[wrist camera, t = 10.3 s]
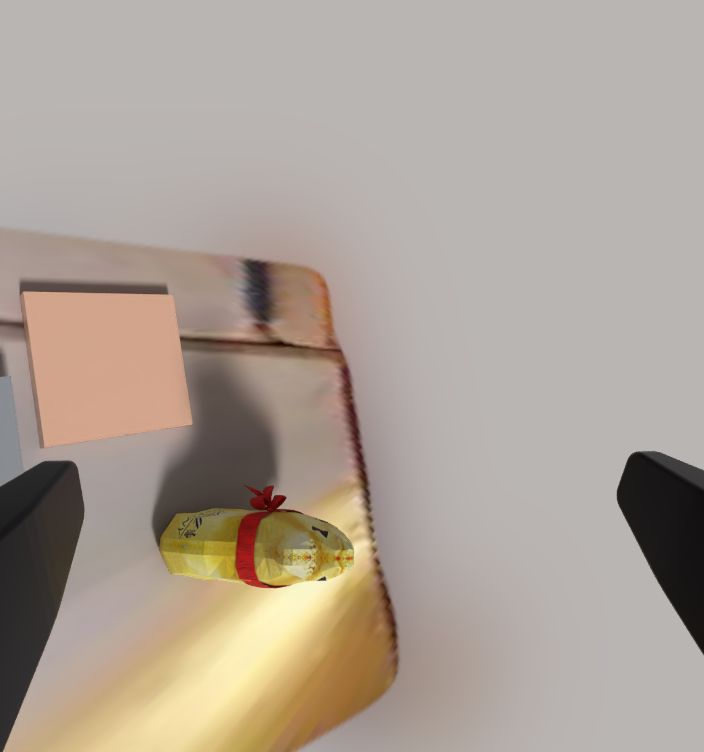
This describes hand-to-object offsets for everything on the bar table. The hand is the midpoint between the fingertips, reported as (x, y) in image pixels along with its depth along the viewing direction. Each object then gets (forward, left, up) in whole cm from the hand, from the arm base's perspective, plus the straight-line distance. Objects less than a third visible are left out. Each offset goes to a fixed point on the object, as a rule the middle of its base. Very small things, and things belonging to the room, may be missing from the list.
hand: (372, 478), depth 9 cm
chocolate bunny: (-7, -14, -33) cm, 36 cm away
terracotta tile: (+7, -8, -33) cm, 34 cm away
